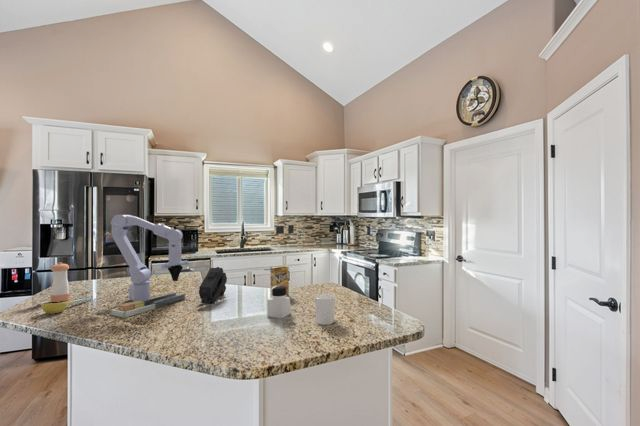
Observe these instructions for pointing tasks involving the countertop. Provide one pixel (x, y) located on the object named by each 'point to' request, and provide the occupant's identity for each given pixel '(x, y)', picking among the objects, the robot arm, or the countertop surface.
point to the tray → (132, 312)
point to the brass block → (138, 304)
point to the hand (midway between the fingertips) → (175, 280)
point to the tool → (213, 285)
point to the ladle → (57, 306)
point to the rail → (164, 300)
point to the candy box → (280, 277)
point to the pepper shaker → (60, 283)
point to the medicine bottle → (278, 303)
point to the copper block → (126, 307)
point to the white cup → (325, 308)
